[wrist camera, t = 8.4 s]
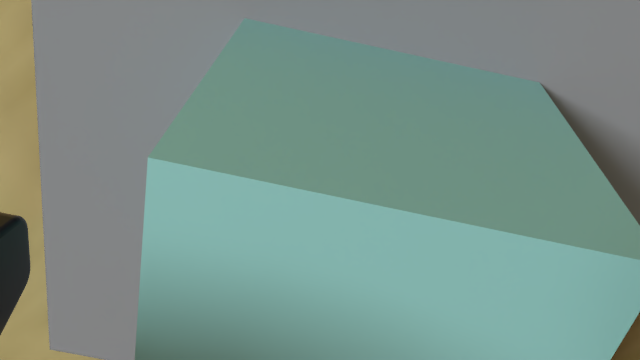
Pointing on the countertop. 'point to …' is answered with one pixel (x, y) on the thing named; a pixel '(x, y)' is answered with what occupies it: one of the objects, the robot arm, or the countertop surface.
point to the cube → (377, 215)
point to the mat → (196, 59)
